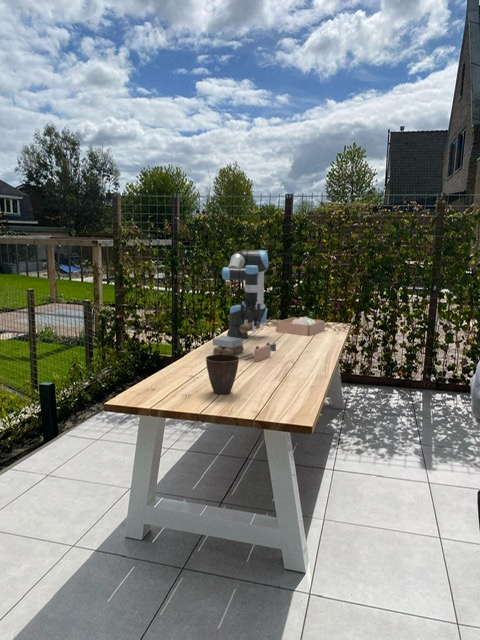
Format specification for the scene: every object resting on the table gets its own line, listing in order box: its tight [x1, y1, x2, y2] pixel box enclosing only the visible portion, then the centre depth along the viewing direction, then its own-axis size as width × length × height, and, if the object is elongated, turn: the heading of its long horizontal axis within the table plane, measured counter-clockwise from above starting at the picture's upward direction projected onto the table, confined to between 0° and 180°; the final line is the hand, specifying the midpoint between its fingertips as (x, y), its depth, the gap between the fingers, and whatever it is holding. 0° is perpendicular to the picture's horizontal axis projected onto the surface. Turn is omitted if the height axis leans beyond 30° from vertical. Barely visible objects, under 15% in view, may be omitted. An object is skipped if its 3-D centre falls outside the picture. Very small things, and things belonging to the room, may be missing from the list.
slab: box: [212, 335, 244, 348], centre depth 300 cm, size 12×14×4 cm
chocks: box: [212, 351, 254, 361], centre depth 298 cm, size 16×23×1 cm
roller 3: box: [239, 321, 261, 333], centre depth 290 cm, size 16×5×5 cm, turn 149°
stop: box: [253, 345, 271, 363], centre depth 288 cm, size 16×2×7 cm, turn 149°
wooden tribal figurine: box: [292, 315, 315, 325], centre depth 384 cm, size 14×14×24 cm
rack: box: [254, 342, 277, 352], centre depth 307 cm, size 16×6×4 cm, turn 149°
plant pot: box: [205, 354, 240, 396], centre depth 221 cm, size 15×15×16 cm
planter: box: [275, 316, 326, 337], centre depth 384 cm, size 30×27×8 cm
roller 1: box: [213, 346, 227, 355], centre depth 302 cm, size 16×5×5 cm, turn 149°
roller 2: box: [222, 344, 244, 356], centre depth 299 cm, size 16×5×5 cm, turn 149°
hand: (249, 331), depth 291 cm, fingers closed on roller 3, 5 cm apart
